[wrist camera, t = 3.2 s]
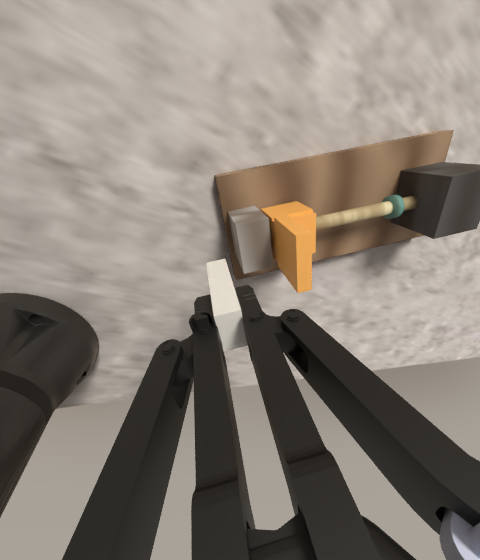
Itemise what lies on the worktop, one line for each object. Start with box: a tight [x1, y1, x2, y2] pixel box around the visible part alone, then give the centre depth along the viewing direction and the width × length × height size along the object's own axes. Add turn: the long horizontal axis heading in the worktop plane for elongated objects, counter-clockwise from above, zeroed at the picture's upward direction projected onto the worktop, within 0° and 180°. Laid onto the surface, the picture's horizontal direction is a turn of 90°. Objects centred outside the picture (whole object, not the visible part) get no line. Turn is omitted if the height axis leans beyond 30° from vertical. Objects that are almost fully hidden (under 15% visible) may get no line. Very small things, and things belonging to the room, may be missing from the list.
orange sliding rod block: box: [261, 201, 316, 293], centre depth 22 cm, size 4×5×10 cm
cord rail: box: [215, 130, 480, 280], centre depth 25 cm, size 26×12×8 cm, turn 99°
